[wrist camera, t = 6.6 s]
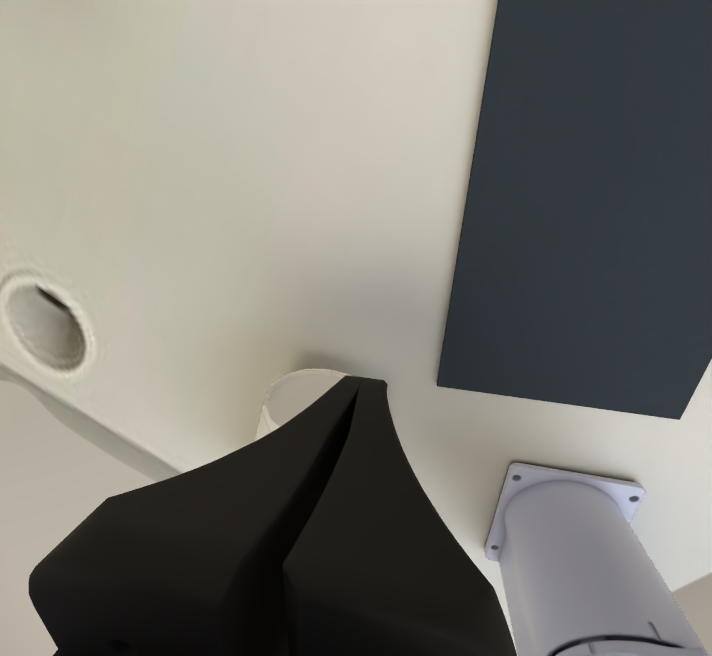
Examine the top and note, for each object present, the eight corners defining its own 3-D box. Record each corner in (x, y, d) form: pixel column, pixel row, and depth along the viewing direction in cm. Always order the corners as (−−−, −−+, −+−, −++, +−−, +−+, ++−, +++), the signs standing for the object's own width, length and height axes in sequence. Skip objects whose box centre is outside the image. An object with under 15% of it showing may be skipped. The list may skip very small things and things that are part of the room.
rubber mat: (676, 416, 19) (679, 420, 19) (436, 383, 21) (436, 386, 21) (923, -65, 11) (936, -72, 11) (504, -38, 13) (505, -43, 13)
